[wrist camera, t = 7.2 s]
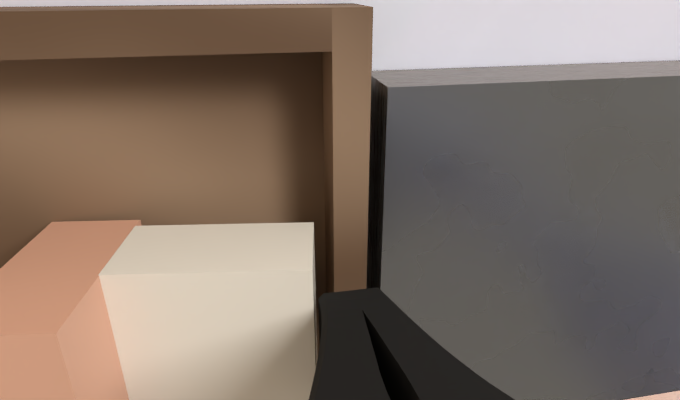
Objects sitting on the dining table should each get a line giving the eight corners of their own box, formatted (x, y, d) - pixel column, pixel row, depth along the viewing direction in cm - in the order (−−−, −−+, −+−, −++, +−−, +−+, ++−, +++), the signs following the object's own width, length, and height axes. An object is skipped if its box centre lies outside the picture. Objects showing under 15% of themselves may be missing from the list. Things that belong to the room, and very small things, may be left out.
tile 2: (317, 359, 13) (317, 422, 11) (162, 363, 13) (135, 428, 11) (314, 222, 11) (312, 269, 9) (135, 225, 11) (98, 274, 9)
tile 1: (106, 502, 9) (-2, 507, 9) (166, 355, 13) (89, 357, 13) (55, 333, 8) (-76, 337, 8) (140, 219, 11) (52, 221, 11)
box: (349, 423, 16) (361, 471, 15) (-130, 498, 14) (-178, 566, 12) (353, 3, 11) (373, 7, 9) (-421, 11, 9) (-574, 17, 7)
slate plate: (681, 341, 18) (731, 381, 16) (359, 388, 16) (374, 440, 14) (783, 56, 14) (865, 68, 12) (365, 71, 12) (387, 87, 10)
